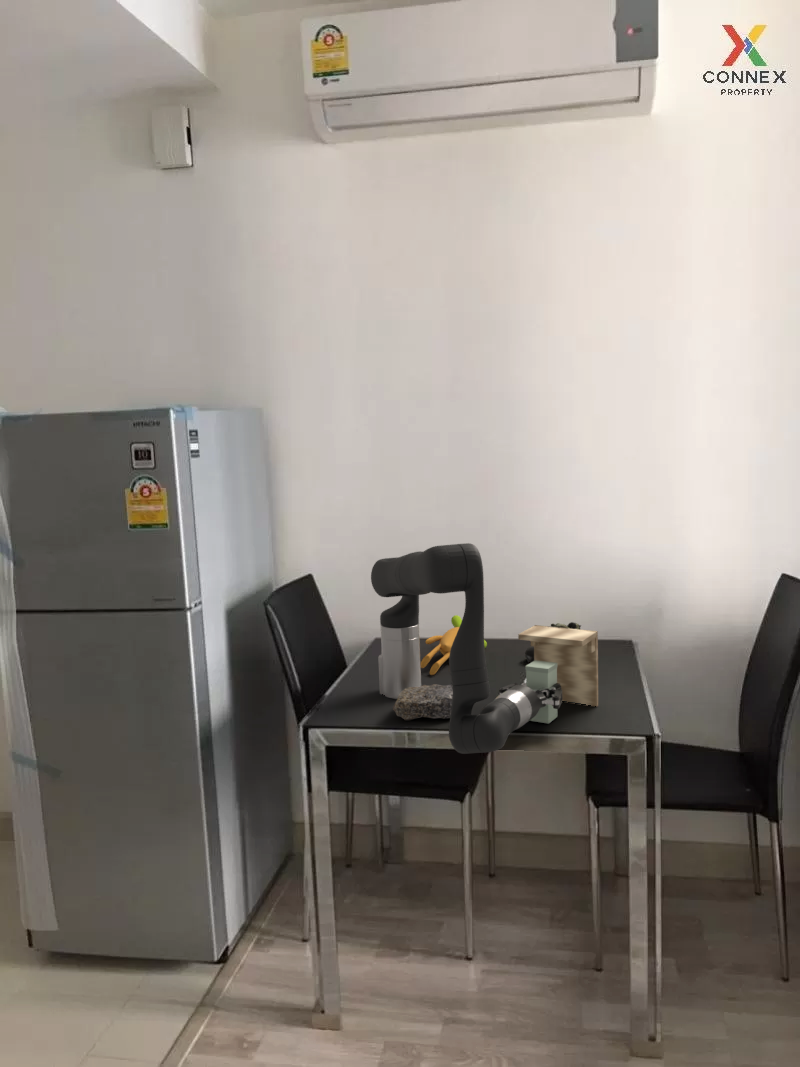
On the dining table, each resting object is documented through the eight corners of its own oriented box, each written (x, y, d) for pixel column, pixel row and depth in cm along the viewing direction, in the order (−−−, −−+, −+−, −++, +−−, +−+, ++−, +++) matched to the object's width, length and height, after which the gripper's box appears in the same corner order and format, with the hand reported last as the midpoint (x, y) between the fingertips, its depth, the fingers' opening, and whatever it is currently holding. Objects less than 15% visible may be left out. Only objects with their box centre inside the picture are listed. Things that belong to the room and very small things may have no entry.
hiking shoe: (515, 662, 243) (515, 628, 242) (567, 646, 256) (566, 614, 255) (540, 668, 236) (539, 633, 235) (591, 652, 250) (590, 619, 249)
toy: (435, 704, 235) (478, 659, 261) (460, 665, 229) (502, 623, 254) (396, 674, 238) (443, 633, 264) (420, 635, 232) (466, 597, 257)
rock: (465, 707, 208) (401, 707, 211) (463, 679, 207) (399, 680, 210) (457, 724, 196) (389, 724, 199) (455, 695, 195) (387, 695, 198)
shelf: (519, 708, 205) (518, 634, 202) (536, 696, 213) (535, 625, 210) (583, 718, 197) (582, 640, 194) (598, 705, 205) (597, 631, 202)
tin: (526, 720, 196) (525, 666, 194) (535, 713, 200) (535, 660, 198) (548, 723, 193) (548, 668, 191) (558, 716, 197) (557, 662, 196)
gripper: (546, 695, 179) (577, 673, 194) (481, 685, 187) (516, 665, 201) (547, 731, 180) (577, 706, 194) (482, 721, 188) (516, 698, 202)
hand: (546, 685), depth 198 cm, fingers closed on tin, 5 cm apart
